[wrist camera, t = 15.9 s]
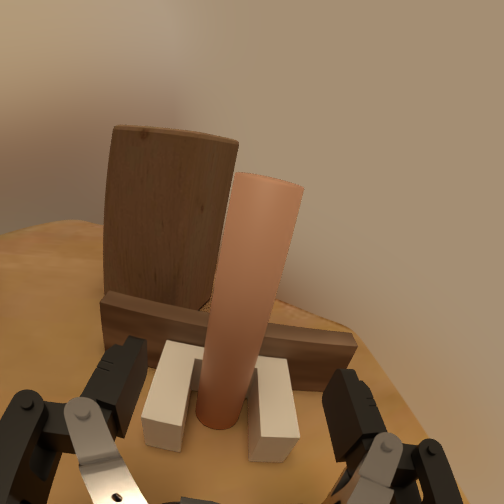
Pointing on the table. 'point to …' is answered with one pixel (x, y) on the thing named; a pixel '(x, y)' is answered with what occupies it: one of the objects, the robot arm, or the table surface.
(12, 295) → the table surface
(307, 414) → the table surface
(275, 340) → the wall
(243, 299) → the dowel
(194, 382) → the notched block
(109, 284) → the wooden block
